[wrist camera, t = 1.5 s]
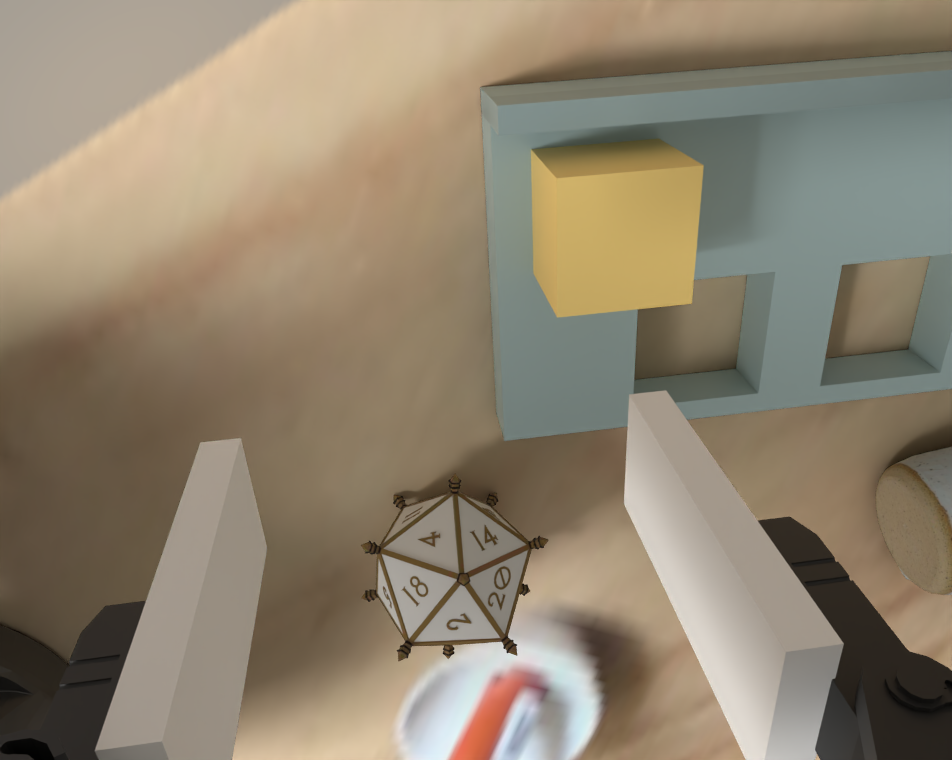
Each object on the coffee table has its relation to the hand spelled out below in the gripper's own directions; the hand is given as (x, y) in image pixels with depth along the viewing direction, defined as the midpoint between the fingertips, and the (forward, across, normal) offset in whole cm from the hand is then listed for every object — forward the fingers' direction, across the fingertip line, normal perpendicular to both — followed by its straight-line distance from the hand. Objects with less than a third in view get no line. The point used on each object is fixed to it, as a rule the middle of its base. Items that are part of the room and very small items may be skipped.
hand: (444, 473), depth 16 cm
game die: (+19, 0, +16) cm, 26 cm away
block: (+17, -8, 0) cm, 18 cm away
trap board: (+19, -16, +3) cm, 25 cm away
